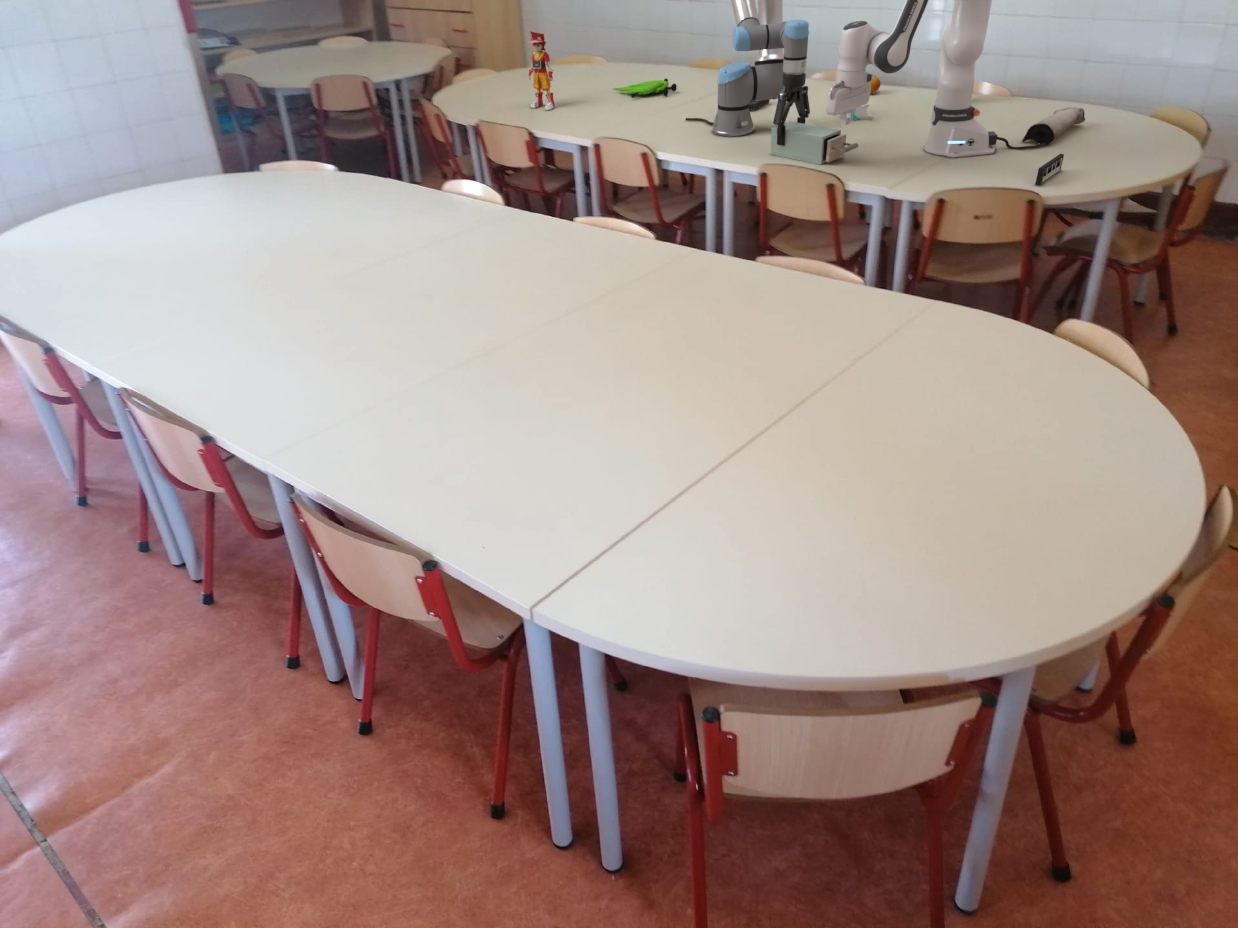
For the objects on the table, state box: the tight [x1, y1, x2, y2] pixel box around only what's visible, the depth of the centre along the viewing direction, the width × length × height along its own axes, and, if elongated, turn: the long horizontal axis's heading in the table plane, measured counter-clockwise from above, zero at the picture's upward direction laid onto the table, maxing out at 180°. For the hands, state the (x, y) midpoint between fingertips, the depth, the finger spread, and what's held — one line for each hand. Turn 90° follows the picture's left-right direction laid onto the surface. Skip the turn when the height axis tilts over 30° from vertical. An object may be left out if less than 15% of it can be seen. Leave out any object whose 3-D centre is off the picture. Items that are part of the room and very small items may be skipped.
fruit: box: [870, 74, 882, 95], centre depth 372 cm, size 8×8×8 cm
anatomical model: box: [851, 103, 874, 121], centre depth 343 cm, size 15×10×10 cm
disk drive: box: [749, 100, 770, 111], centre depth 365 cm, size 10×3×15 cm
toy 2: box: [612, 78, 677, 99], centre depth 396 cm, size 28×5×30 cm
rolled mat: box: [1021, 106, 1086, 146], centre depth 311 cm, size 30×9×10 cm
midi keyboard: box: [1035, 153, 1065, 186], centre depth 273 cm, size 18×1×5 cm, turn 138°
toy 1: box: [527, 31, 556, 111], centre depth 374 cm, size 12×9×30 cm
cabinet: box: [770, 120, 842, 165], centre depth 304 cm, size 21×11×9 cm, turn 45°
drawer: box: [823, 133, 859, 163], centre depth 301 cm, size 25×9×7 cm, turn 45°
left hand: (790, 141), depth 308 cm, fingers closed on cabinet, 11 cm apart
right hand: (845, 124), depth 291 cm, fingers closed
